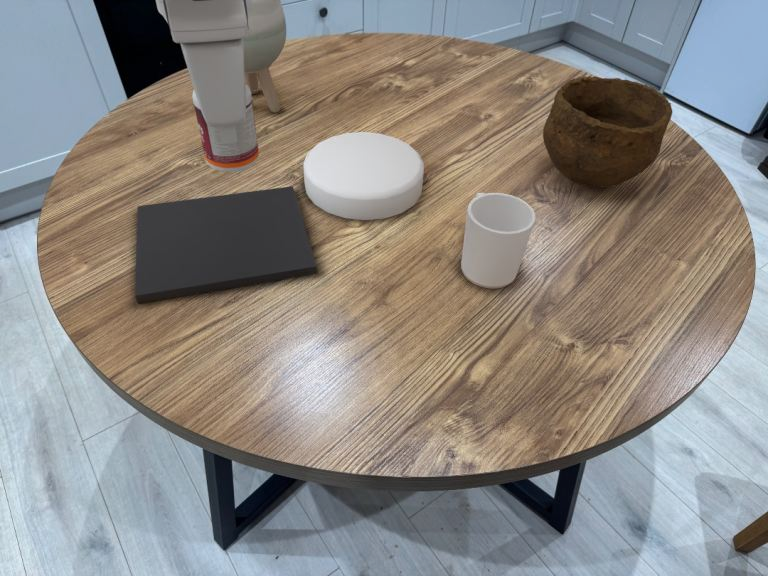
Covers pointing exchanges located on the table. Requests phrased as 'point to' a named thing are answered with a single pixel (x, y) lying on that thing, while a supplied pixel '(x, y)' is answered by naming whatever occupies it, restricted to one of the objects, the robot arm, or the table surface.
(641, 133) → the bowl
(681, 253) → the table surface
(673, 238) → the table surface
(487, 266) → the mug
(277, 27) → the planter
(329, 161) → the container
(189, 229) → the board
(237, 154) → the pill bottle
